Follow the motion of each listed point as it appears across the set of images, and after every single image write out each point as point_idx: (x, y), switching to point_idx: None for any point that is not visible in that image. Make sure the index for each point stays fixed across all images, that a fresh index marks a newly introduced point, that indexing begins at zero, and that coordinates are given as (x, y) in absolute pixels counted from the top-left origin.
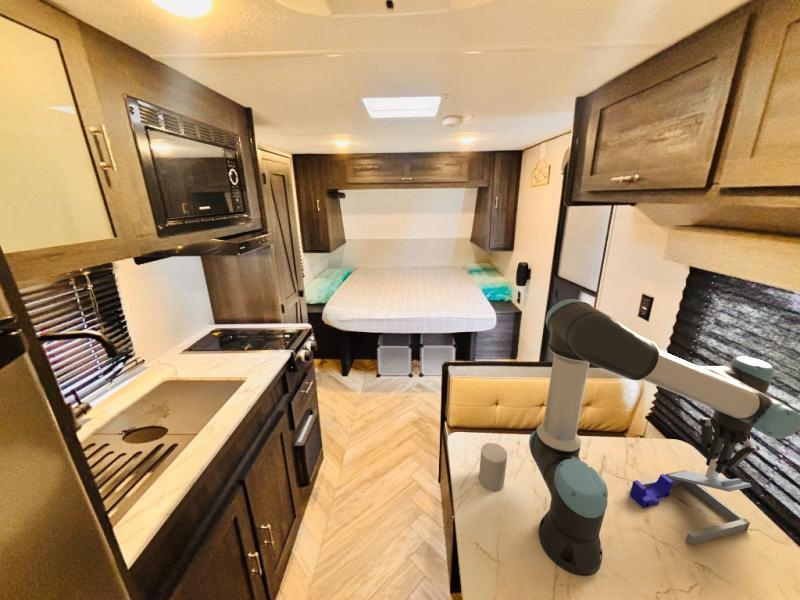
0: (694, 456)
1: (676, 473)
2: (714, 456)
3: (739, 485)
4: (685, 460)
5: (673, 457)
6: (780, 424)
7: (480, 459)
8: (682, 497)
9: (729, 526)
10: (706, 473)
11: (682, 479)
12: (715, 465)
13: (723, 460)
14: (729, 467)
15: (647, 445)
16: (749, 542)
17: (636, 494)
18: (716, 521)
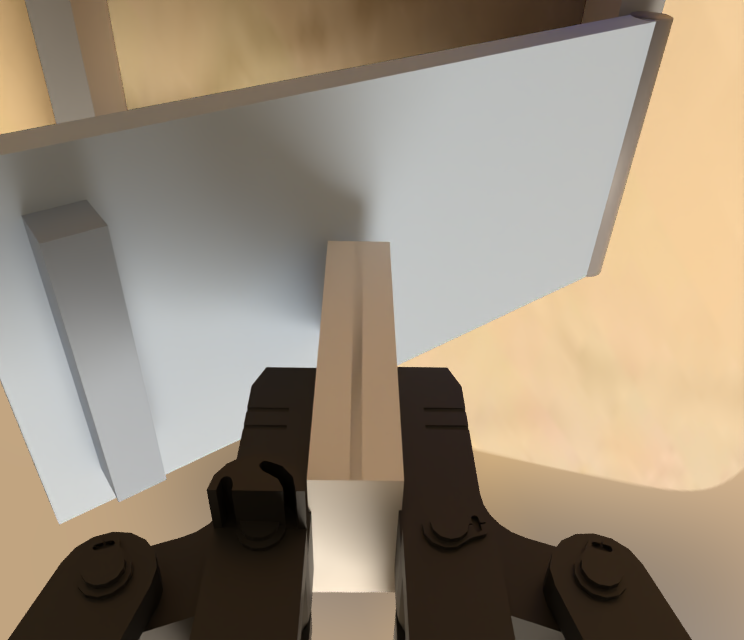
0: (644, 469)
1: (616, 139)
2: (402, 572)
3: (21, 396)
4: (657, 398)
5: (718, 354)
6: None
7: None
8: (450, 21)
9: (44, 31)
10: (388, 273)
11: (521, 43)
12: (312, 427)
13: (199, 619)
14: (77, 553)
15: None
16: (16, 116)
17: None
18: (197, 62)
